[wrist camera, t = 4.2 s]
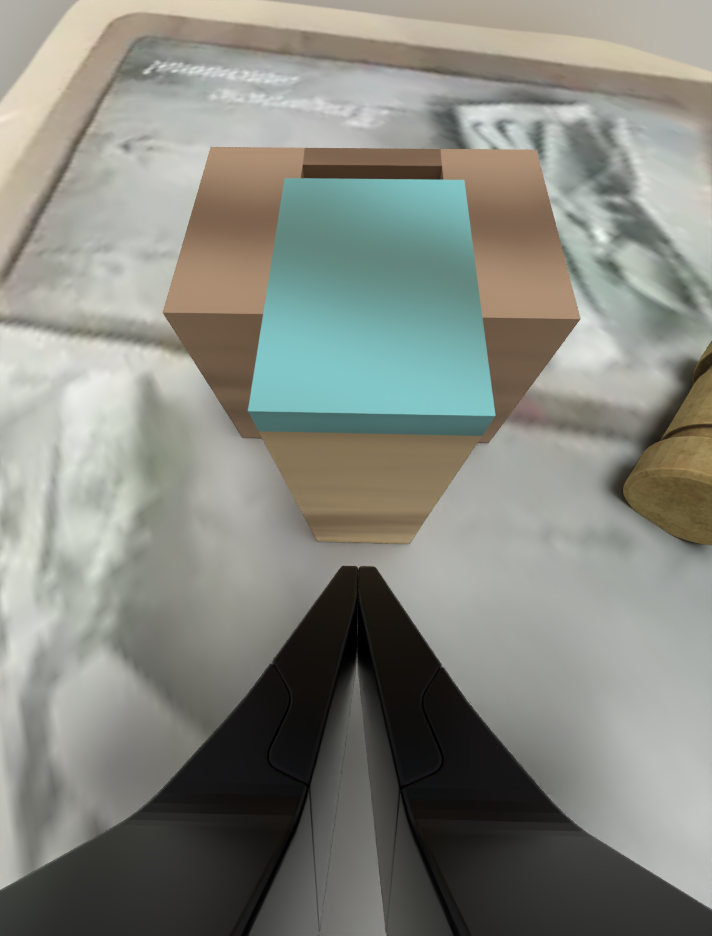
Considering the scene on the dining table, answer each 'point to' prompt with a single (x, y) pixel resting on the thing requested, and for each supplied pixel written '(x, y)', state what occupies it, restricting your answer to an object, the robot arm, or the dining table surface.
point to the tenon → (371, 353)
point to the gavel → (680, 467)
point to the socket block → (263, 171)
